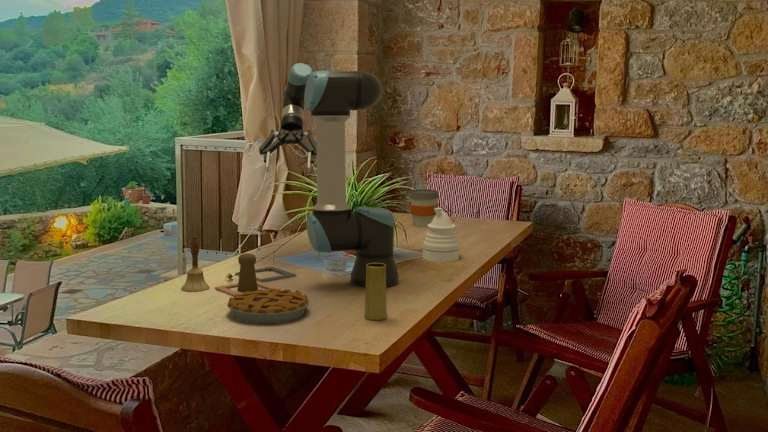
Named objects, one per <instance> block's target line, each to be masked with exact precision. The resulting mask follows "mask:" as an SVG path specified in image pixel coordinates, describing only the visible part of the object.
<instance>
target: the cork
mask: <svg viewBox="0 0 768 432" xmlns="http://www.w3.org/2000/svg"><path fill="white" fill-rule="evenodd" d="M256 262H257V257H256V255H255V254H253V253H249V252H248V253H247V252H246V253H241V254H240V255H239V256H238V264H239V266H240V267H239V272H240V273H239V276H238V281H237V283H238V287H237V292H238V293H239V292H240V293H243V292H244V291H251V292H252V291H256V290H259V286H257V280H256V277H257V276H256V275H257V273H255V269H256V267H255V264H257V263H256Z"/></svg>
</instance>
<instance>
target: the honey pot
mask: <svg viewBox="0 0 768 432" xmlns="http://www.w3.org/2000/svg"><path fill="white" fill-rule="evenodd" d="M434 210H435V212H436V213H437V214H436V215H435V217H434V219H433V220H432V222H431V223H430V224H428V225H427V227H426V228H428V230H427V231H426V234H425V237H424V241H422V242H423V244H422V247H423V248H422V258H423V259H424V260H425V261H431V262H439V263H440V262H443V263H446V262H448V263H449V262H454V261H457V260H459V258H460V249H459V248H460V242H459V241H458V237H457V233H456V231H455V229H456V224H454V223H453V222H452V220H451V218H450V217H449V215H448V213H446V212H445V211H443V210H442V207H437V208H434Z"/></svg>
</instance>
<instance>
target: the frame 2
mask: <svg viewBox="0 0 768 432" xmlns="http://www.w3.org/2000/svg"><path fill="white" fill-rule="evenodd" d="M268 271H271V272H272V271H273V272H275V273H277V274H280V275H275V276H271V277H270V276H269V277H265V278H259V277H257V276H256V280H257V281H259V282H262V283H268V282H272V281H278V280H284V279H289V278H294V277H297V274H295V273H293V272H290V271H287V270H285V269H280V268H278V267H275V266H268V267H262V268H257V269H256V268H255V273H256V274H257V273H262V272H268ZM239 273H240V271H237V272H235V273H234V274H235V276H238V277H239Z"/></svg>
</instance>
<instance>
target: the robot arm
mask: <svg viewBox="0 0 768 432" xmlns="http://www.w3.org/2000/svg"><path fill="white" fill-rule="evenodd" d="M290 68H291V69H290V70H289V74H288V78H287V83H286V85H285V87H284V89H283V90H284V91H283V99H282V111H281V121H280V129H279V131H276V130H275V129H273V128H272V129H270V132H269V135H268V136H267V137H266V138H265V140H264V141H263V142H262V144H261V145H260V146H259V148H258V151H259V152H258V153H259V155H260V156H262V155H263V163H265V169H266V170H265V171H266V173H269V172H270V165H271V154H272V153H274V151H276V150H277V149H278V148H279V147H281V146H283V145H284V144H286V145H291V144H292V145H296V144H297V145H298V146H300V147H301V148H302V149H303V150H304V151H305V152H307V153H308V154H307V155H308V156H307V173H309V174H310V173H311V167H312V165H311V164H315V157H316V184H317V185H316V189H317V190H316V191H317V192H316V195H317V199H316V201H317V202H316V204H314V206H313V207H312V213H310V214H308V215H307V217H306V232H307V236H308V239H309V243H310V246H311V247H312V249H313V250H314V251H315V252H317V253H328V254H330V253H337V252H350V251H352V252H353V251H355V253H356V254H355V260H354V263H353V266H352V271H351V273H350V275H349V279H350V280H349V281H350V283H351V285H355V286H357V287H362V288H363V287H364V288H366V265H367V264H369V263H383V264H386V288H387V287H388V288H389V287H392V286H395V285H398V284H399V282H400V279H399V278H400V275H399V273H398V269H397V264H396V262H395V258H394V241H395V240H394V239H395V238H394V237H395V236H394V235H395V219H394V214H393V213H392V212H391V211H390V210H387V209H384V208H379V207H372V206H356V209H355V212H354V211H353V212H352V206H350V205H349V204H348V203H347V192H346V191H347V189H346V187H347V183H346V182H347V181H346V173H347V172H346V122H347V121H348V119H350V117H351V111H362V110H366V109H369V108H372V107H374V105H376V104H377V103H378V102H379V101H380V99H381V97H382V94H383V86H382V83H381V80H380V79H379V78H378V77H377V76H376V75H375V74H372V73H369V72H366V71H361V70H360V71H359V70H354V71H353V70H352V71H351V70H342V69H339V70H327V69H326V70H321V69H313V68H312V67H311V66H310V65H308V64H305V63H303V62H297V63H295V64H294V65H292V66H291V67H290ZM305 110H306V111H308V112H310V117H311V118H312V119H313V121H315V123H316V124H315V125H316V127H315V128H316V131H315V134H316V136H315V137H316V140H315V139H314V136H313V135H312V130H311V129H307V131H303V129H304V117H305V112H304V111H305ZM304 137H305V138H306V139H308V142H309V143H307V142H306V141H305V140H304V139H303V138H304ZM276 138H277V139H276ZM309 144H310V145H309Z"/></svg>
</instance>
